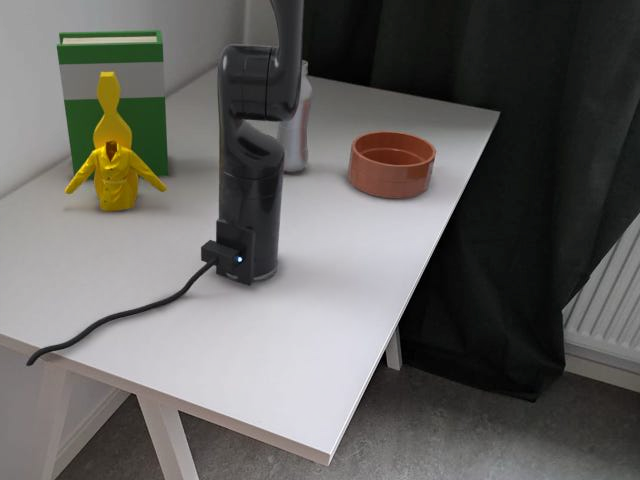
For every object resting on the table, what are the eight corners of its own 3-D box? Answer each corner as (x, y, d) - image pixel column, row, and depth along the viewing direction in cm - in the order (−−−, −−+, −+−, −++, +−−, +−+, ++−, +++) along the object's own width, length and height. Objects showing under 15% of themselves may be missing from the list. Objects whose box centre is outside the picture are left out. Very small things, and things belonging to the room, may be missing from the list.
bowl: (424, 205, 129) (432, 171, 125) (341, 192, 132) (345, 159, 128) (432, 169, 140) (439, 137, 136) (354, 158, 143) (359, 126, 139)
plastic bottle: (304, 177, 137) (314, 70, 124) (269, 174, 138) (275, 67, 125) (308, 163, 141) (318, 58, 128) (274, 159, 142) (281, 55, 129)
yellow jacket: (65, 214, 125) (46, 87, 111) (70, 193, 131) (52, 70, 117) (168, 212, 126) (162, 86, 112) (168, 191, 132) (162, 68, 118)
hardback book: (74, 179, 135) (56, 46, 120) (76, 161, 141) (59, 32, 125) (168, 175, 137) (162, 43, 121) (166, 158, 142) (160, 30, 127)
